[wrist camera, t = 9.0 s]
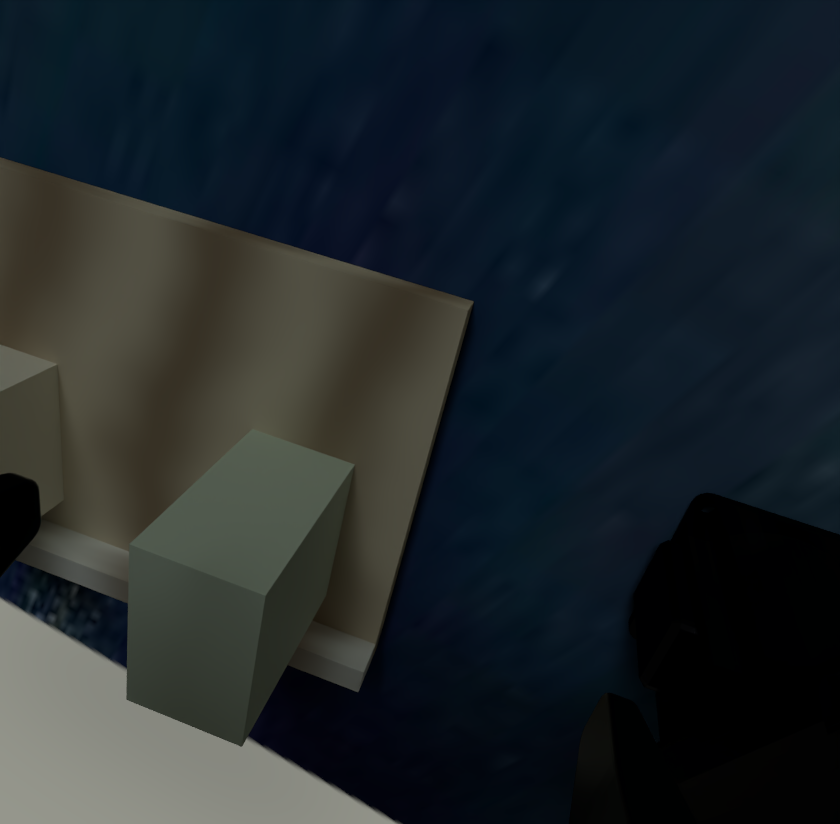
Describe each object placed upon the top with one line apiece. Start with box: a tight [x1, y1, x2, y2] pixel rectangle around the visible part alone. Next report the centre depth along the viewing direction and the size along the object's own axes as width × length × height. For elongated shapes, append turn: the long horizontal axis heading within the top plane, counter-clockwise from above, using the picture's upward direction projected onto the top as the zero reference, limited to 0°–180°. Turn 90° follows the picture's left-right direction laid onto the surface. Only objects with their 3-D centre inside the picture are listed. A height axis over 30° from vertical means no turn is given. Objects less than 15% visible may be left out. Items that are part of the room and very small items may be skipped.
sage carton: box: [127, 429, 355, 746], centre depth 22 cm, size 4×7×7 cm, turn 167°
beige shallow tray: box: [0, 158, 474, 692], centre depth 24 cm, size 19×16×2 cm
